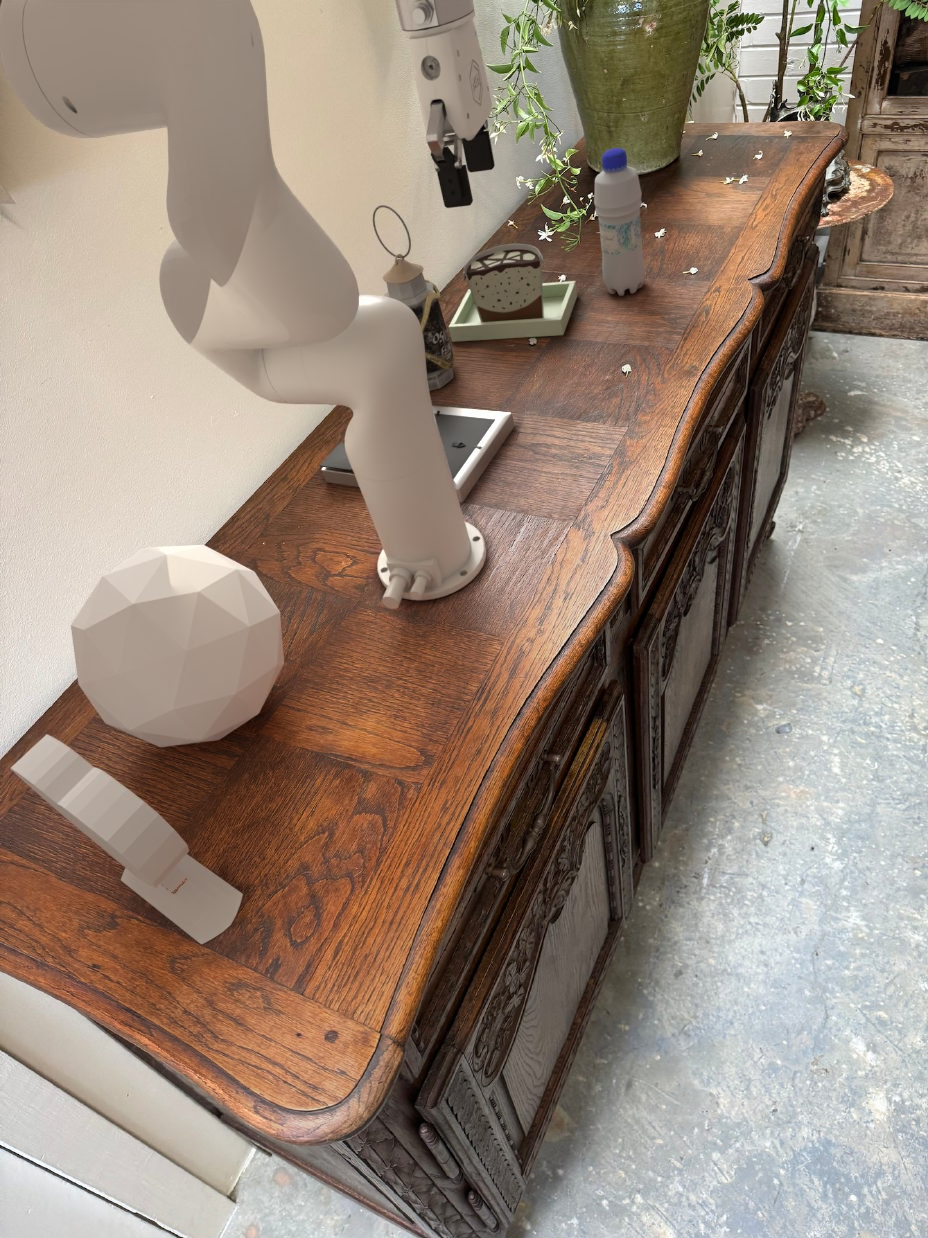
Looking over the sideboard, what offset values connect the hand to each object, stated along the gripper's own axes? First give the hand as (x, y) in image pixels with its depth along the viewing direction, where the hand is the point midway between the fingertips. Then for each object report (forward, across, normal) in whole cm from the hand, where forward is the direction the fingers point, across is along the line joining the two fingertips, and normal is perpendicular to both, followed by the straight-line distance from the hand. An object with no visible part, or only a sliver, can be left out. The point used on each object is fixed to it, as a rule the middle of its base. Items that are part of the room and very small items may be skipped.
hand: (470, 187), depth 95 cm
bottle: (+28, +29, -11) cm, 42 cm away
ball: (+29, -54, +19) cm, 64 cm away
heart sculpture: (+29, -73, +13) cm, 80 cm away
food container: (+28, +22, +5) cm, 36 cm away
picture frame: (+28, -12, +10) cm, 32 cm away
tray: (+28, +22, +5) cm, 36 cm away
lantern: (+28, +6, +14) cm, 32 cm away
